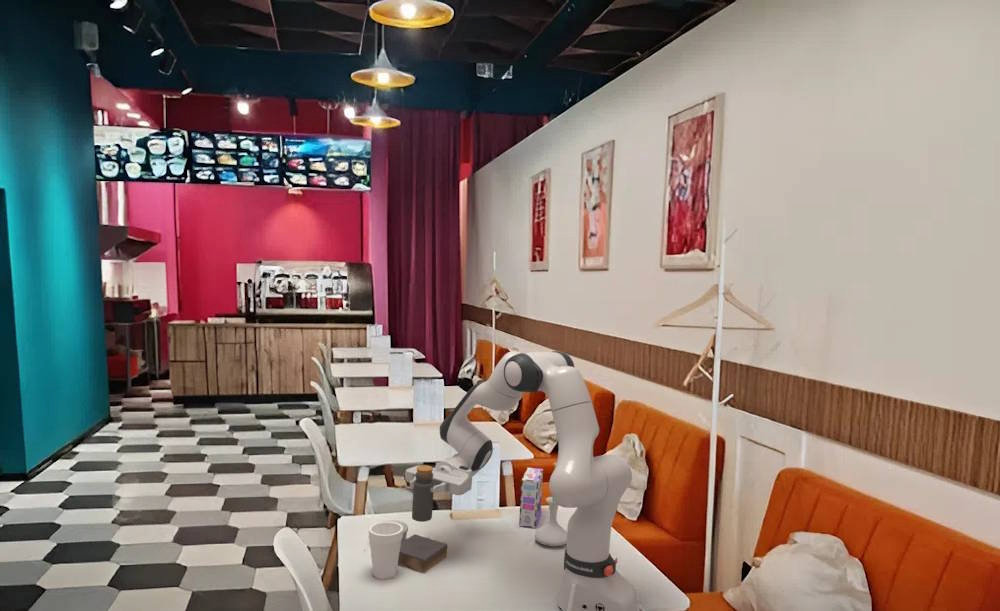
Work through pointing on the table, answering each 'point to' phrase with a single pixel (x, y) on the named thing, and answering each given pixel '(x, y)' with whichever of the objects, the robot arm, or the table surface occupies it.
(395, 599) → the table surface
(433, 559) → the podium
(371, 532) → the foam cup
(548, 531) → the grey vase
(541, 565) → the table surface
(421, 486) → the bottle
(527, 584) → the table surface
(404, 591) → the table surface
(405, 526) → the ramekin
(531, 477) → the candy box
